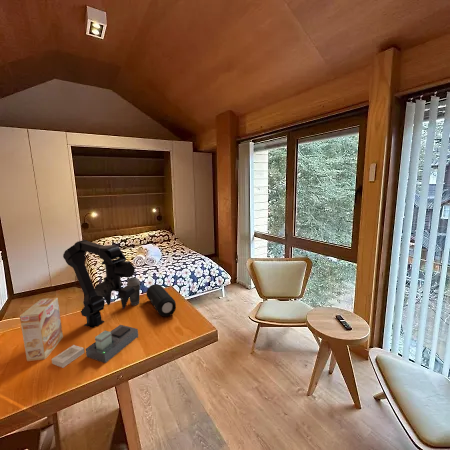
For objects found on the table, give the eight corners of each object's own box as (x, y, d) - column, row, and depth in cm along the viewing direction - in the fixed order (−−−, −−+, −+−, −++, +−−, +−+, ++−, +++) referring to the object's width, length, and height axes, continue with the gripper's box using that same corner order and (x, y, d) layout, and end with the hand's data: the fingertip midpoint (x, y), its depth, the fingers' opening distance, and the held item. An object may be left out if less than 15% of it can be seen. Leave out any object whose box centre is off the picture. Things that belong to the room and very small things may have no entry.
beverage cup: (134, 307, 138) (131, 273, 135) (125, 304, 142) (122, 271, 139) (144, 302, 144) (141, 269, 141) (136, 299, 148) (133, 267, 145)
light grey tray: (52, 364, 95) (51, 359, 95) (74, 350, 104) (73, 344, 103) (63, 368, 93) (62, 362, 93) (84, 353, 101) (83, 348, 101)
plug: (97, 355, 99) (94, 337, 98) (107, 347, 104) (105, 330, 102) (103, 357, 98) (101, 338, 97) (112, 349, 103) (111, 331, 101)
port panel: (86, 357, 99) (85, 347, 98) (121, 332, 115) (120, 323, 114) (105, 364, 95) (104, 353, 94) (138, 337, 112) (137, 327, 111)
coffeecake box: (46, 360, 98) (38, 314, 95) (26, 362, 97) (18, 316, 94) (64, 337, 113) (58, 296, 109) (46, 339, 112) (40, 298, 108)
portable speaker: (146, 301, 146) (144, 285, 145) (162, 296, 151) (161, 281, 150) (159, 320, 125) (157, 302, 123) (178, 315, 130) (177, 297, 128)
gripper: (82, 277, 108) (86, 310, 111) (114, 283, 101) (117, 319, 103) (103, 269, 118) (106, 300, 121) (134, 274, 111) (136, 307, 113)
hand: (116, 306), depth 114 cm, fingers open, 9 cm apart
